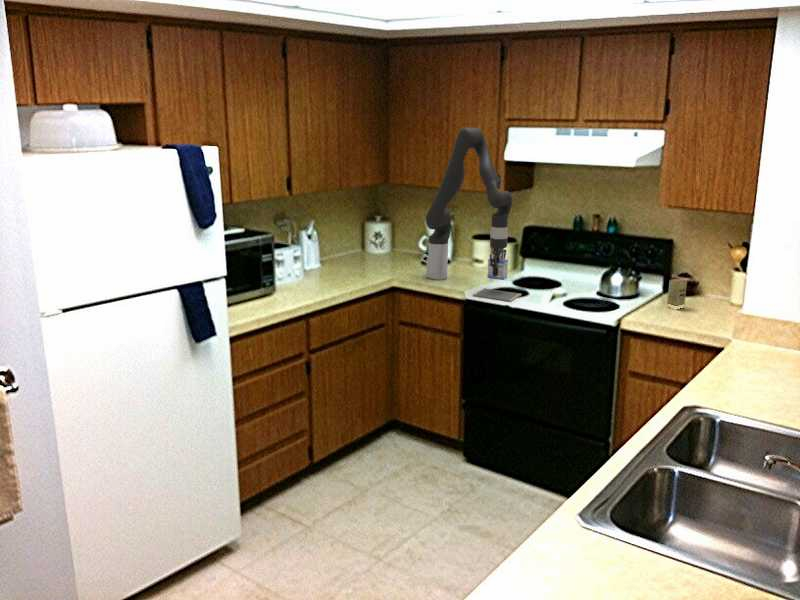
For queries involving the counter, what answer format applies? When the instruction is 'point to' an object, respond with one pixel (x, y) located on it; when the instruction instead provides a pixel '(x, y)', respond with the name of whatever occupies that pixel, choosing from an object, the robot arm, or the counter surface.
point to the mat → (496, 295)
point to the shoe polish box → (677, 292)
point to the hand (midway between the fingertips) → (497, 274)
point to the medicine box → (501, 270)
